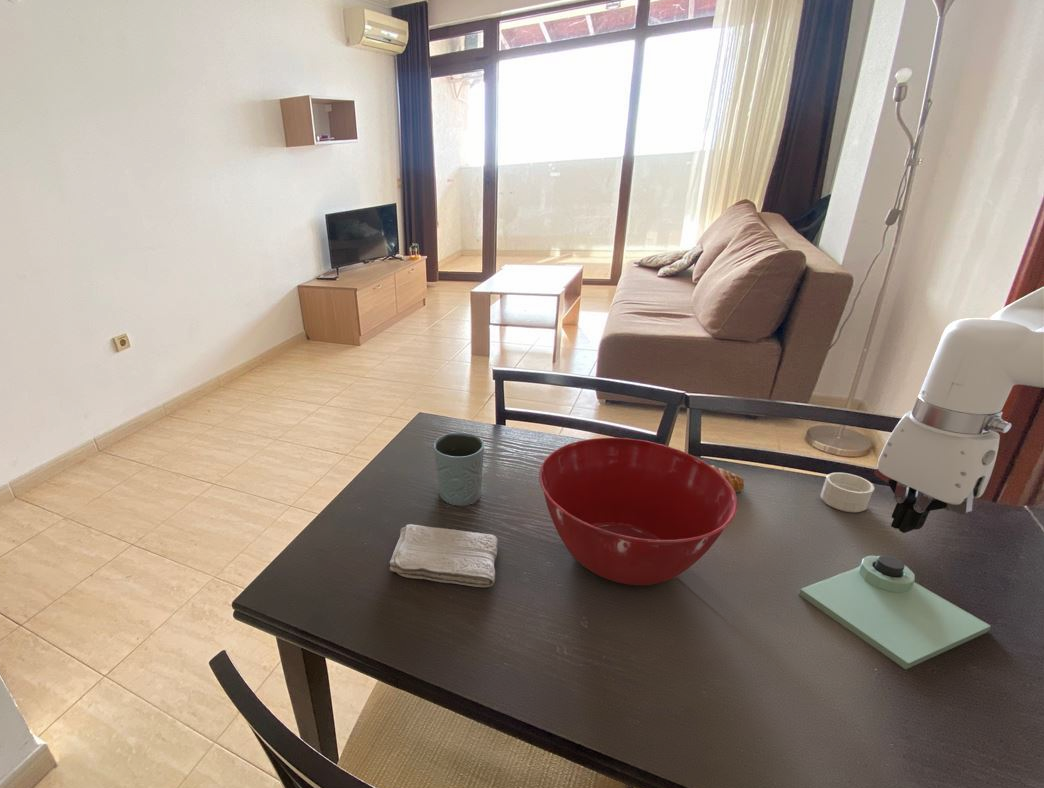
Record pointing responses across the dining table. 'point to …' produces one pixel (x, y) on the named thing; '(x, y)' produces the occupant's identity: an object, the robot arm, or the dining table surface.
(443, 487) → the grey green cup
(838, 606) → the scale
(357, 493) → the dining table surface
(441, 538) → the washcloth
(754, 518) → the dining table surface
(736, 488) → the pastry
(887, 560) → the button
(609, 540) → the mixing bowl
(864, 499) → the bowl
